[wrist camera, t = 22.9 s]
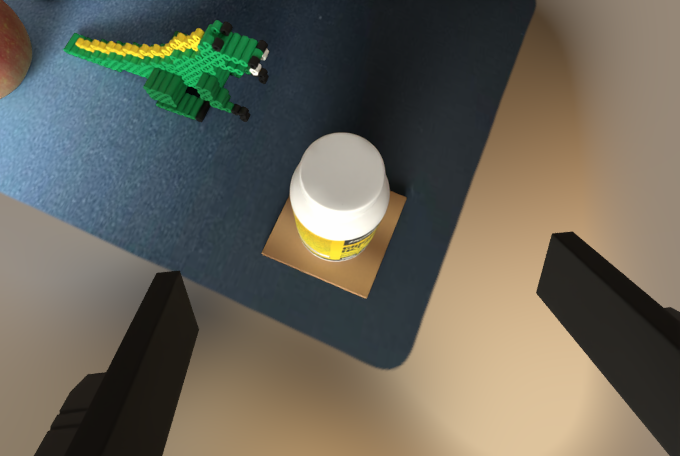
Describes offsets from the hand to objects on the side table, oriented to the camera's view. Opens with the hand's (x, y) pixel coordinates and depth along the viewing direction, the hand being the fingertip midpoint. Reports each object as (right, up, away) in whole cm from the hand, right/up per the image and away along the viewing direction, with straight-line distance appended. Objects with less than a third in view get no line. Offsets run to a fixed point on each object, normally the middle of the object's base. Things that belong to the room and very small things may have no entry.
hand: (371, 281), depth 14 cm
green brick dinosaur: (-16, +15, +21) cm, 31 cm away
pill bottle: (-1, +2, +18) cm, 18 cm away
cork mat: (-1, +2, +18) cm, 18 cm away
